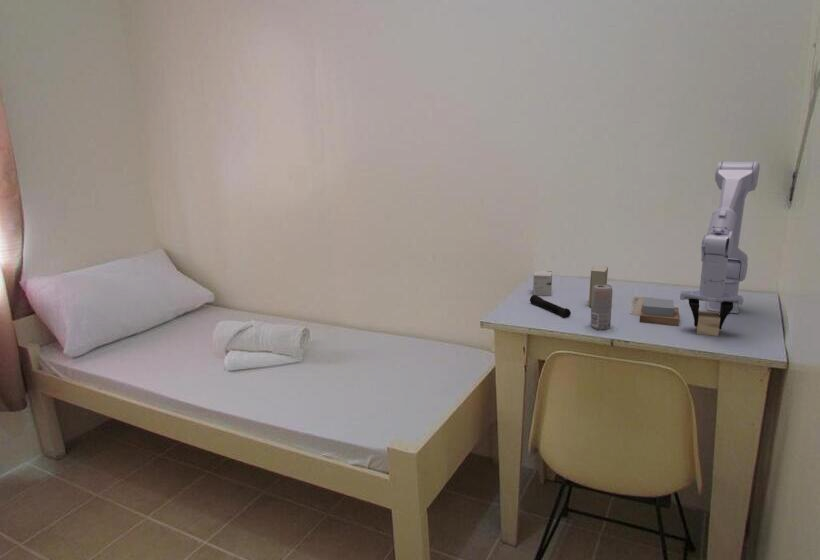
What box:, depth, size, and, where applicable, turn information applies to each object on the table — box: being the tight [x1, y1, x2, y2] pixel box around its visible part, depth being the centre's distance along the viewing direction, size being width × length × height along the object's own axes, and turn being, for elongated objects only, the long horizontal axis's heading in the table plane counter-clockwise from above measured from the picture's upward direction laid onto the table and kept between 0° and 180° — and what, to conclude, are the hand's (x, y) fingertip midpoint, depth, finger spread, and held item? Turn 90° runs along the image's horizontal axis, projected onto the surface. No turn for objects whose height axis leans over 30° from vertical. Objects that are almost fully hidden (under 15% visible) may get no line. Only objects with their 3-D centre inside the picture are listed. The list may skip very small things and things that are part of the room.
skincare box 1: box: [532, 270, 553, 297], centre depth 180 cm, size 6×6×7 cm
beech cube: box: [695, 309, 720, 337], centre depth 141 cm, size 5×5×5 cm
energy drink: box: [590, 283, 613, 330], centre depth 147 cm, size 5×5×12 cm
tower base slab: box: [639, 304, 680, 327], centre depth 153 cm, size 10×10×2 cm
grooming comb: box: [629, 296, 658, 317], centre depth 163 cm, size 18×10×1 cm, turn 149°
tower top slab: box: [643, 297, 675, 317], centre depth 152 cm, size 8×8×2 cm
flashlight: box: [529, 294, 572, 319], centre depth 164 cm, size 3×16×3 cm, turn 24°
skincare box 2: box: [588, 265, 609, 307], centre depth 165 cm, size 6×4×12 cm
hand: (707, 326), depth 141 cm, fingers closed on beech cube, 5 cm apart
